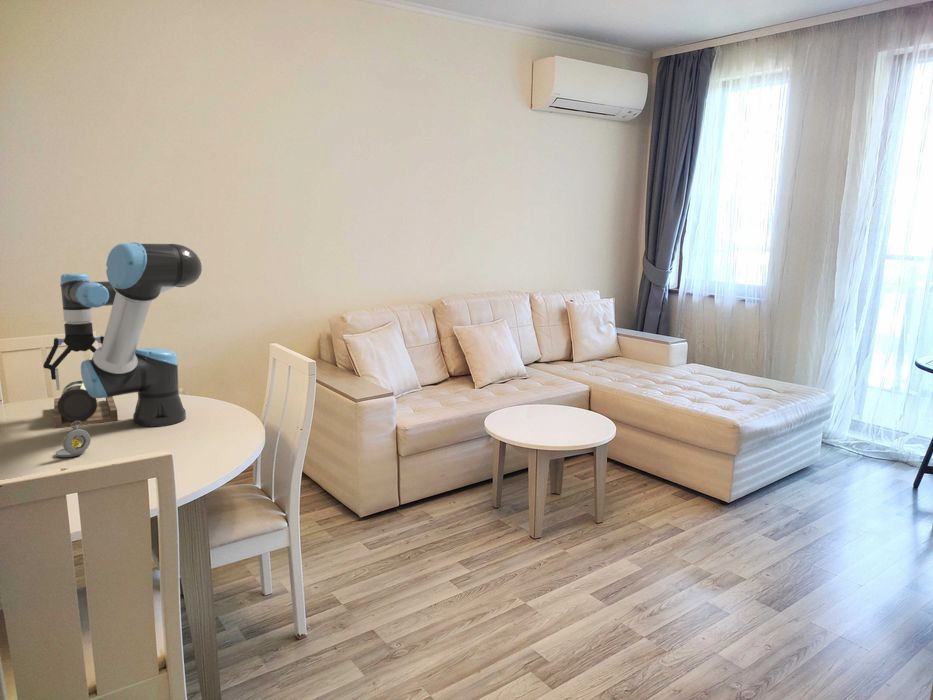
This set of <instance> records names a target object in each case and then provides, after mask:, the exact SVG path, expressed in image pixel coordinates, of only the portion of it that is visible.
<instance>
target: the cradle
mask: <svg viewBox="0 0 933 700" xmlns="http://www.w3.org/2000/svg"><path fill="white" fill-rule="evenodd" d="M53 399H54V400H53V418H54V428H55V429H57V428H66V427H72V426H74V424H77V425H79V423H80V422H81V424H80V425H79V426H82V425H90V424H98V423H99V424H101V423H108V422H109V423H110V422H117V421H119V419H118V418H119V416H118V409H117V406H116V403H115V399H114V396H112V397H108V398H105V400H99V401H97V409H96V411H95V413H94V414H93V415H92V416H91V417H90V418H88V419H86V420H84V421H80V422H75V421H70V420H67V419H65V418H64V417H63V416H62V415H61V414H60V413H59V411H58V401H59V399H60V397H58V398H53ZM73 422H74V423H73ZM71 423H73V424H72V426H71Z"/></svg>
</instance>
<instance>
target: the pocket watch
mask: <svg viewBox="0 0 933 700" xmlns="http://www.w3.org/2000/svg"><path fill="white" fill-rule="evenodd" d="M75 422H80V421H75ZM73 423H74V422H73ZM73 423H71V426H70V427H72V428H74V429H73V430H71V431H69V432H68V433H67V434H66V435H65V437H64V438H63V441H62V445H63V448H62V449H58V450H57V451H56V452H55V456H56V457H58V458H72V457H78V456H81V455H82V454H84V453H85V452H86V450H87V449H88V448H89V446H90V445H91V441H92V439H91V436H90V433H88V431H86V430H85V429H82V428H78V427H79V426H81V425H80V424H81V422H80V423H79V425H77V424H74V426H72V424H73Z"/></svg>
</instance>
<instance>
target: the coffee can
mask: <svg viewBox="0 0 933 700" xmlns="http://www.w3.org/2000/svg"><path fill="white" fill-rule="evenodd" d="M59 398H60V399H59V401H58V411H59V413H60V414H61V415H62V416H63V417H64V418H65V419H67V420H70V421H84V420H86V419H88V418H90V417H91V416H92V415H93V414H94V413H95V411H96V409H97V402H98V400H99V398H93V397H91V396H90V395H89V394H88V392H87V390H86V388H85V386H84V383H83V380H82V379H77V380H74V381H71V382H70V383H68V384H66V386H64V388H63V390H62V392H61V396H60V397H59Z"/></svg>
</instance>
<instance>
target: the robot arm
mask: <svg viewBox="0 0 933 700" xmlns="http://www.w3.org/2000/svg"><path fill="white" fill-rule="evenodd" d="M105 265H106V269H105V271H106V277H107V280H108V281H90V279H89V276H88V274H87V273H77V272H75V273H63V274H61V276H60V291H61V301H62V313H63V315H62V316H63V321H64V327H63V328H64V338H58V337H54V338H53V345H52V347H51V349H50V351H49V353H48V355H47V357H46V359H45V361H44V363H43V366H42V367H43V369H48V370H50V377H51V380H54V381H55V384H56V386H55V387H56V391H60V389H61V386H60V377H59V376H60V375H59V369H58V368H57V367H58V366H59V365H60V364H61V363H62V361H64V360H65V358H66V357H67V356H68V355H69V354H70V353H71V352H72V351H73V352H75V353H76V352H86V351H89V350H90V351H91V352H92V353H93V354H92V359H86V360H83V361H81V363H80V375H81V378H82V379H81V380H83V383H84V386H85V388H86V390H87V392H88V394H89V395H90V396H91V397H93V398H98V399H106V398H108V397H112V396H113V397H116V396H122V395H128V394H134V393H137V398H138V399H137V402H136V404H135V410H134V413H133V415H132V417H133V419H132V420H133V424H134V425H137V426H141V427H162V426H170V425H174V424H178V423H181V422H184V420H186V419H187V418H186V417H187V413H186V412H187V411H186V409H185V408H184V406H183V403H182V400H181V398H180V394H179V393H180V391H179V370H178V366H179V364H178V358H177V354H176V352H174V351H173V350H170V349H166V348H153V347H152V348H151V347H150V348H148V347H141V348H140V347H139V348H137V347H138V344H139V341H140V339H141V338H140V337H141V334H142V331H143V327H144V325H145V322H146V317H147V314H148V312H149V308H150V305H151V302H152V301H154V300H156V299H157V298H159V296H160V294H162V293H165V292H167V291H169V290H171V289H174V288H185V287H187V286H190V285H192V284H194V283H196V282H197V281H198V279H200V276H201V274H202V270H203V265H202V263H201V259H200V258H199V256H198V254H196V252H194V251H193V250H192V249H191V248H189V247H187V246H185V245H182V244H178V243H139V242H128V243H126V242H125V243H119V244H117V245H115V246H113V247H112V249H111V250H110V251H109V253H108V256H107V259H106V264H105ZM104 306H106V307H107V306H112V307H111V311H110V315H109V318H108V322H107V326H106V329H105V333H104V335H100V336H94V331H93V329H94V328H93V323H92V321H93V320H92V318H93V317H92V315H93V314H92V309H93V308H100V307H104ZM95 342H97V343H99V344H101V346H100V347H98V348H96V347H95V346H94V345H93V344H94V343H95ZM63 343H64V344H65V345H66V346H67V347H66V348H65V349H64V350H63V352H61V354H60V355H59V356H58V357H57V358H56V359H55V360H54V362H53V363H52V364H51V361H52V360H53V358H54V356H55V354H56V352H57V350H58V347H59V346H61V345H62V344H63Z"/></svg>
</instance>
